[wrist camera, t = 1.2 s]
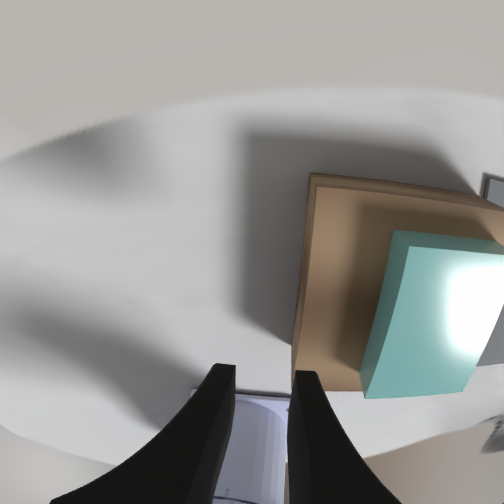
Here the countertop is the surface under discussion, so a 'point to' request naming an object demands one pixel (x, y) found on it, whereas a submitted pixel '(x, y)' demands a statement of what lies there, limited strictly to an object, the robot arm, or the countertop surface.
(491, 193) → the mat
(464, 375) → the tile
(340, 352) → the block
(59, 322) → the countertop surface
